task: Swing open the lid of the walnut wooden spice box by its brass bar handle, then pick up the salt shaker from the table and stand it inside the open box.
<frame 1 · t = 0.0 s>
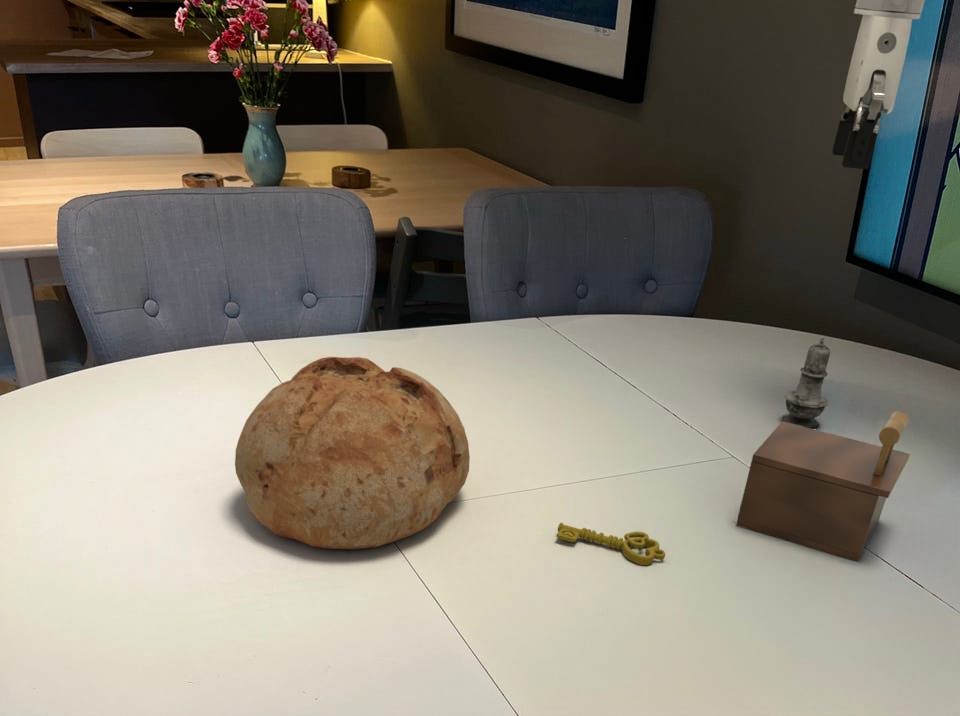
hand: (849, 161, 126), 32 cm above the table, tool pointing down, fingers open, 9 cm apart
key: (610, 547, 106), on the table
spice box: (808, 522, 113), on the table
salt shaker: (799, 424, 138), on the table
bread: (352, 502, 110), on the table
lid: (838, 434, 107), point 11 cm above the table, hinge at 0.0°
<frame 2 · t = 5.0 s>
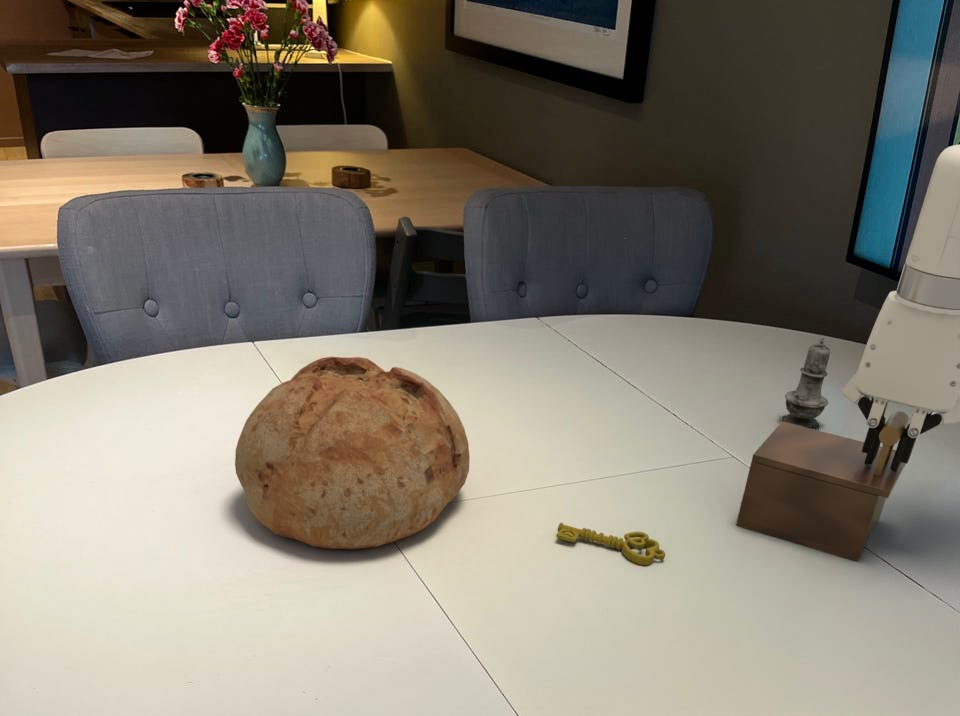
hand: (882, 462, 106), 9 cm above the table, tool pointing down, fingers closed on lid, 2 cm apart
lid: (838, 434, 107), point 11 cm above the table, hinge at 0.0°, touching gripper
everything else where it was.
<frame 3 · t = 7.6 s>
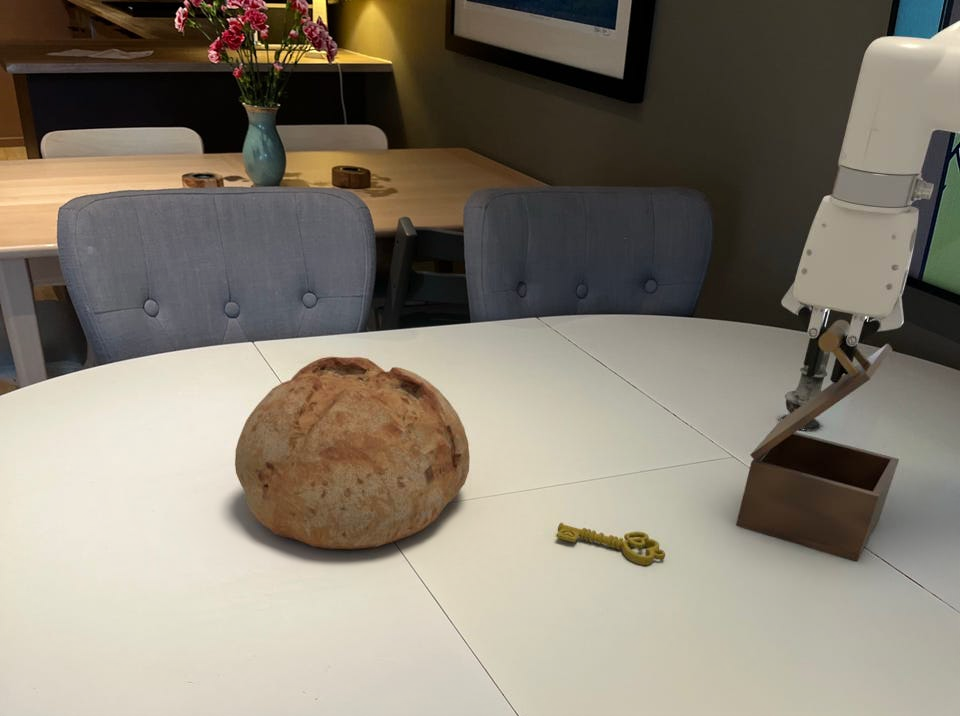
hand: (824, 374, 105), 17 cm above the table, tool pointing down, fingers closed on lid, 2 cm apart
lid: (805, 382, 106), point 16 cm above the table, hinge at 51.1°, touching gripper
everything else where it was.
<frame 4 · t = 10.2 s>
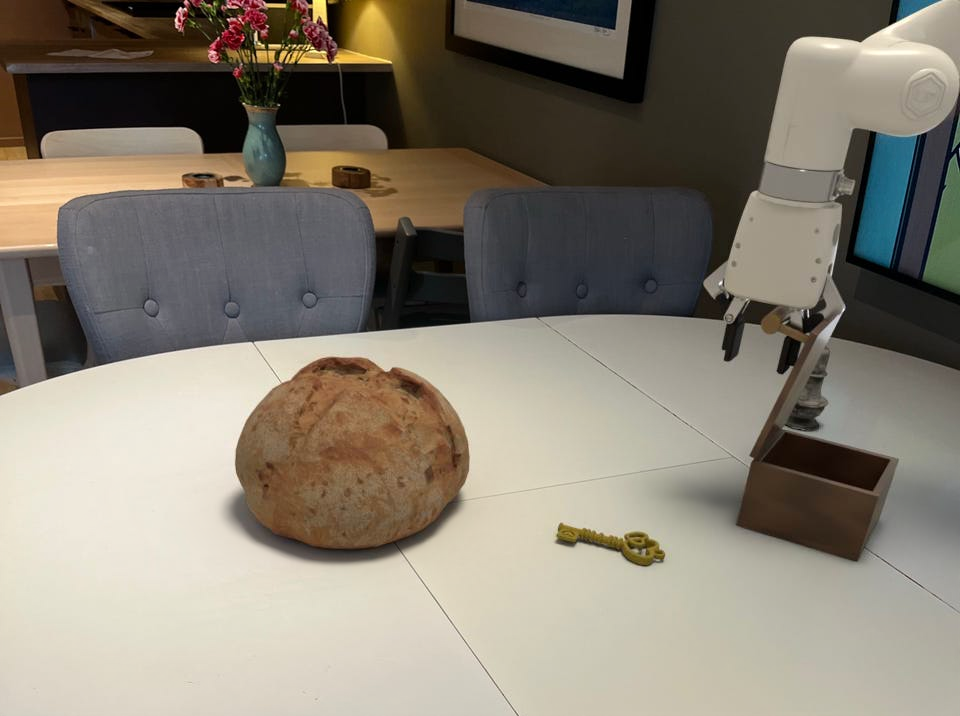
hand: (756, 362, 107), 16 cm above the table, tool pointing down, fingers open, 5 cm apart
lid: (773, 371, 107), point 16 cm above the table, hinge at 77.7°
everything else where it was.
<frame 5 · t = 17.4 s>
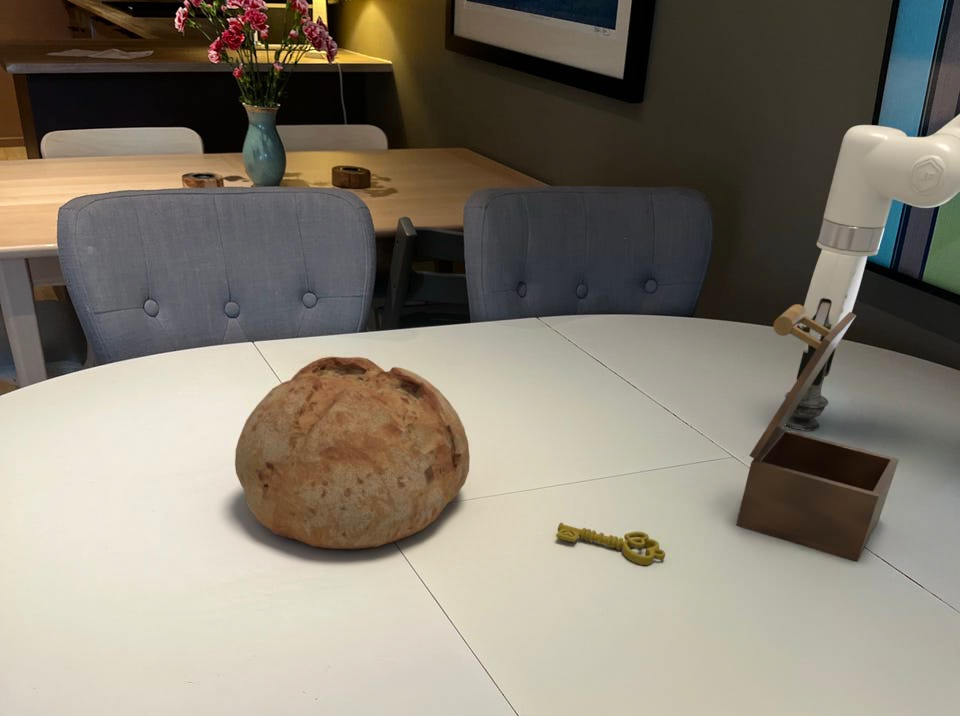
hand: (812, 377, 134), 7 cm above the table, tool pointing down, fingers closed on salt shaker, 3 cm apart
salt shaker: (799, 424, 138), on the table, touching gripper
lid: (780, 372, 107), point 16 cm above the table, hinge at 72.2°
everything else where it was.
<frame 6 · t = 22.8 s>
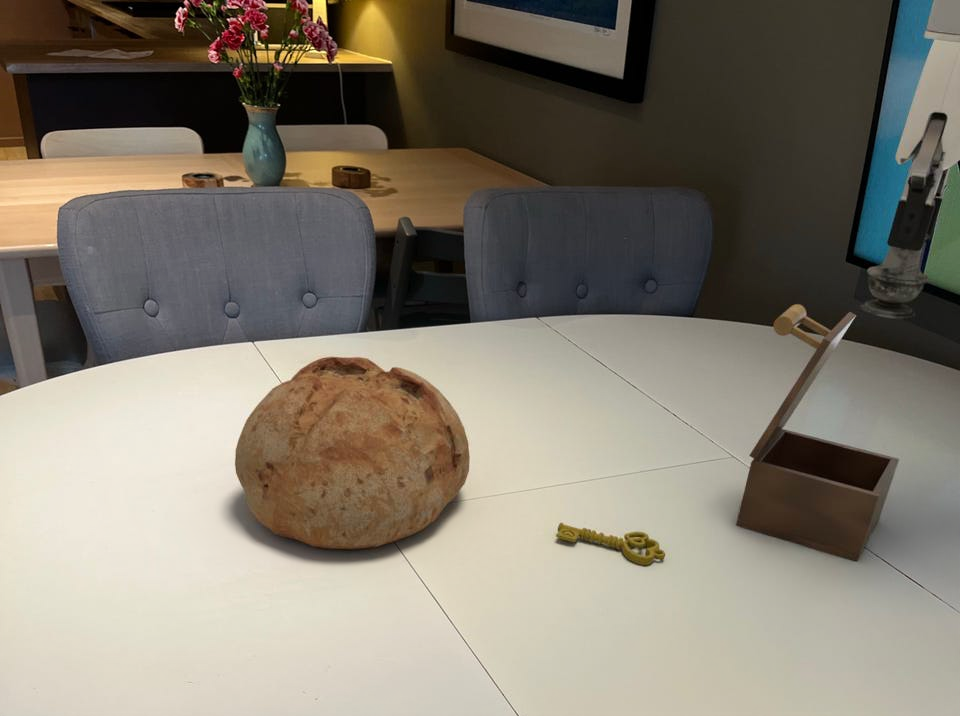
hand: (908, 241, 96), 31 cm above the table, tool pointing down, fingers closed on salt shaker, 3 cm apart
salt shaker: (886, 312, 100), point 24 cm above the table, touching gripper
everything else where it was.
when the fingers open (7 cm above the table, at t = 28.2 s): salt shaker stays where it is, resting on spice box.
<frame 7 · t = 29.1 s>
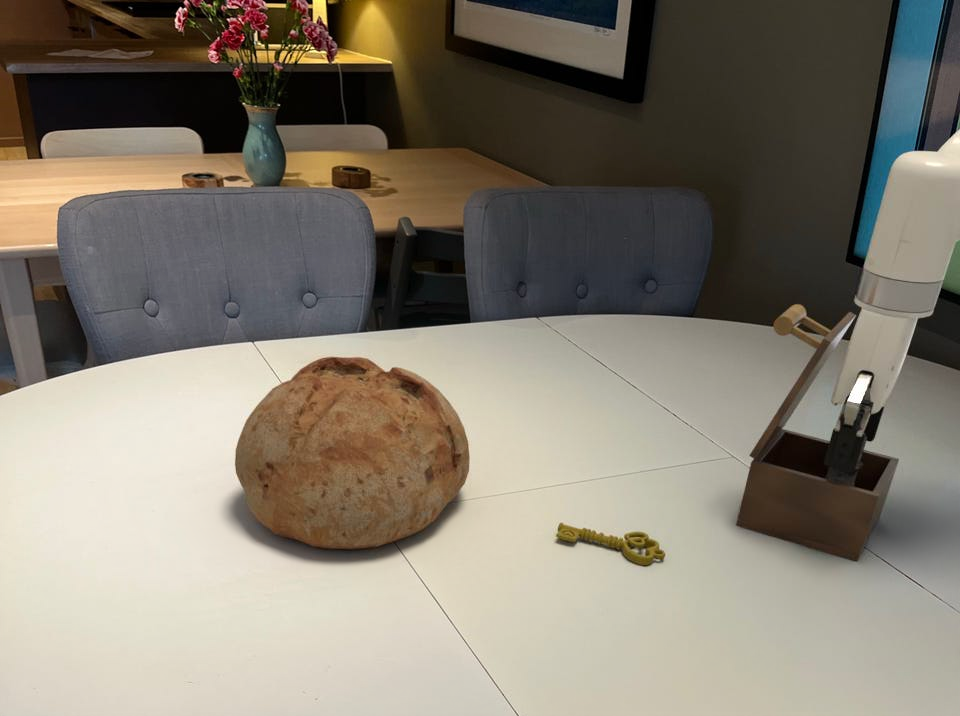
hand: (849, 452, 107), 9 cm above the table, tool pointing down, fingers open, 9 cm apart
salt shaker: (827, 522, 112), point 1 cm above the table, touching spice box
everything else where it was.
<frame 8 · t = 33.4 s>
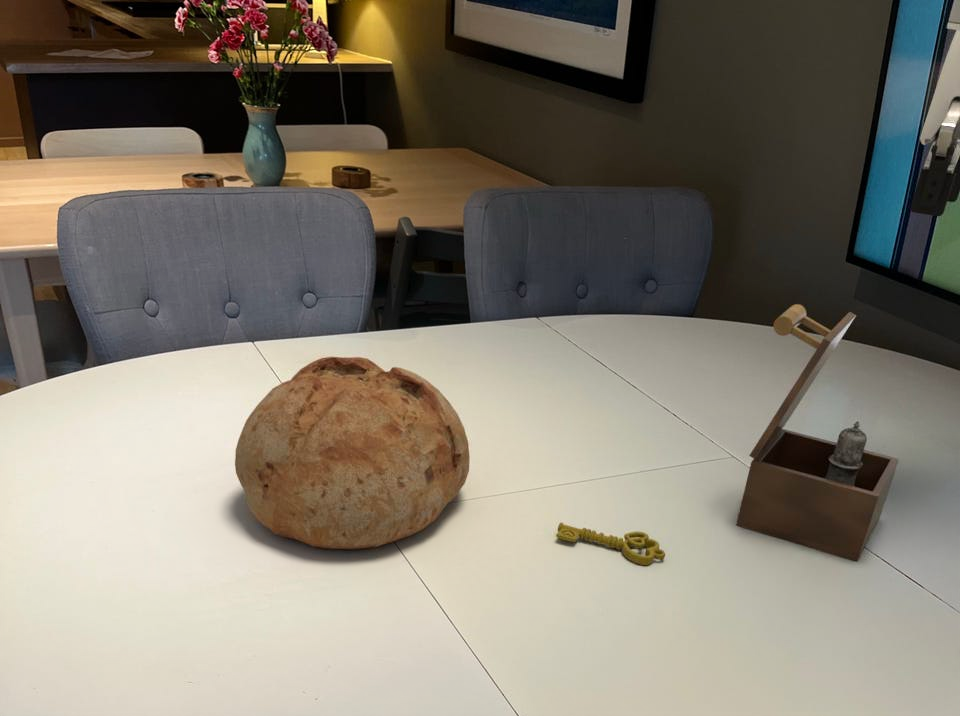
hand: (933, 206, 104), 32 cm above the table, tool pointing down, fingers open, 9 cm apart
nothing on the table moved.
at the end: lid at +72° (first picture: +0°); salt shaker inside the target area in the spice box (2.0 cm from its centre), point 0.6 cm above the spice box's base; salt shaker tilted 0° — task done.
